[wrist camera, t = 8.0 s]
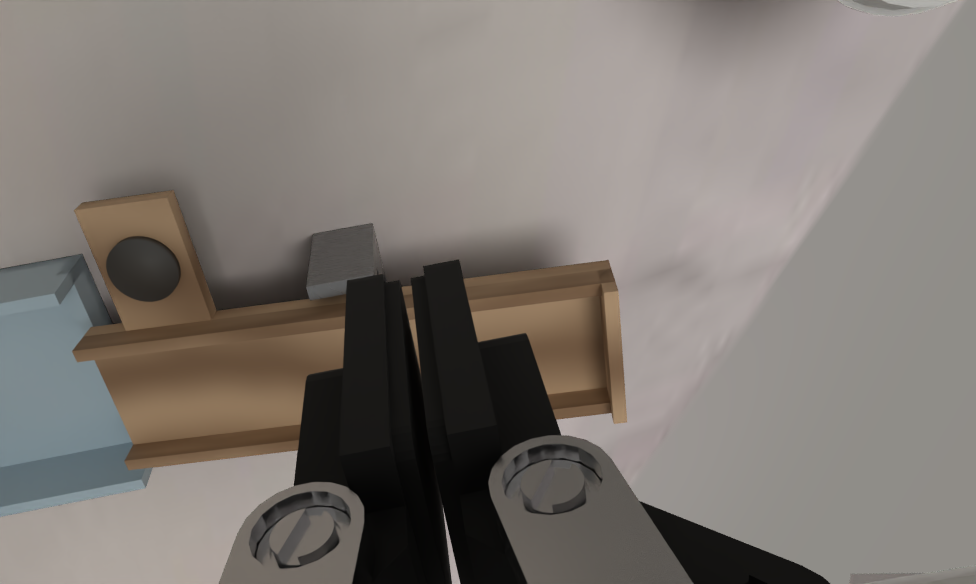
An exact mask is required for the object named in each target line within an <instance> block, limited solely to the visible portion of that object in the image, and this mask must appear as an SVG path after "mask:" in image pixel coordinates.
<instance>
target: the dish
mask: <svg viewBox="0 0 976 584" xmlns="http://www.w3.org/2000/svg"><path fill="white" fill-rule="evenodd" d="M111 324H112V321H111V319H110V317H109V314H108V312H107V310H106V308H105V305H104V303H103V301H102V298H101V296H100V294H99V292H98V289H97V287H96V285H95V282H94V280H93V278H92V276H91V273H90V271H89V269H88V266H87V264H86V262H85V260H84V257H83V255H82V254H80V255H75V256H69V257H64V258H58V259H53V260H47V261H42V262H36V263H31V264H25V265H20V266H14V267H9V268H3V269H0V517H1V516H7V515H12V514H17V513H22V512H27V511H32V510H37V509H42V508H47V507H52V506H57V505H62V504H68V503H73V502H78V501H83V500H88V499H93V498H98V497H103V496H108V495H113V494H118V493H124V492H129V491H134V490H139V489H144V488H146V486H147V483H148V480H149V477H150V474H151V471H152V468H144V469H136V470H128V468H127V466H126V464H125V462H124V460H125V459H126V457H127V455H128V453H129V451H130V450H131V448H132V446H133V443H132V441H131V438H130V436H129V434H128V432H127V430H126V428H125V425H124V423H123V421H122V419H121V417H120V415H119V412H118V410H117V408H116V406H115V404H114V402H113V400H112V397H111V395H110V393H109V391H108V389H107V387H106V384H105V382H104V380H103V378H102V376H101V374H100V371H99V369H98V367H97V365H96V363H95V361H94V360H92V361H84V362H77V361H76V359H75V357H74V355H73V353H72V350H73V349H74V348H75V347H76V345H77V344H78V343H79V341H80V340H81V339H82V338H83V336H84V335H85V334H86V332H87V331H88V330H89V329H90V327H95V326H103V325H111Z"/></svg>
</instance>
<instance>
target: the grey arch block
mask: <svg viewBox="0 0 976 584" xmlns="http://www.w3.org/2000/svg"><path fill="white" fill-rule="evenodd" d="M379 274H384V270H383V265H382V261H381V257H380V252H379V248H378V244H377V239H376V235H375V231H374V226H373V223H372V224H366V225H361V226H355V227H350V228H344V229H339V230H333V231H328V232H322V233H317V234H313V240H312V247H311V254H310V262H309V269H308V276H307V284H306V289H307V292H308V296H309V299H310V301H311V300H316V299H322V298H327V297H332V296H338V295H343V294H346V286H347V280H352V279H357V278H363V277H368V276H373V275H379ZM384 276H385V274H384ZM385 279H386V278H385Z"/></svg>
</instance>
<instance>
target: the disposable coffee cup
mask: <svg viewBox="0 0 976 584" xmlns="http://www.w3.org/2000/svg"><path fill="white" fill-rule="evenodd" d="M837 1H839V2H840V3H842V4H843V5H845V6H846V7H849V8H851V9H855V10H858V11H861V12H864V13H867V14H871V15H880V16H894V17H898V16H905V15H912V14H919V13H923V12H926V11H929V10H932V9H935V8H938V7H941V6H945V5H947V4H949V3H952V2H955V1H957V0H837Z"/></svg>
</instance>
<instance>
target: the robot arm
mask: <svg viewBox="0 0 976 584" xmlns="http://www.w3.org/2000/svg"><path fill="white" fill-rule="evenodd" d="M423 268H424V276H420V277H415V278H411V286H412V295H413V304H414V314H415V323H416V332H417V342H418V351H419V360H420V368H419V364H418V359H417V355H416V350H415V346H414V341H413V337H412V332H411V328H410V323H409V319H408V314H407V310H406V305H405V300H404V296H403V291H402V287H401V283H400V280H399V281H393V282H388V283H387V282H386V279H385V276H384V274H379V275H373V276H368V277H363V278H357V279H352V280H347V286H346V309H345V332H344V355H343V368H340V369H335V370H329V371H324V372H319V373H314V374H309V375H308V376H307V378H306V383H305V391H304V400H303V409H302V418H301V427H300V436H299V445H298V453H297V462H296V471H295V480H294V486H293V487H291V488H288V489H286V490H284V491H281V492H279V493H276V494H275V495H273V496H272V497H270V498H269V499H267V500H266V501H264V502H263V503H261V504H260V505H259V506H258V507H257V508H256V509H255V510H254V511H253V512H252V513H251V514H250V515H249V516H248V517H247V518H246V519H245V521H244V523H243V525H242V526H241V528H240V530H239V532H238V533H237V536H236V539H235V541H234V544H233V547H232V549H231V552H230V555H229V557H228V560H227V563H226V565H225V568H224V571H223V573H222V576H221V579H220V581H219V584H452V581H451V572H450V564H449V555H448V547H447V539H446V530H445V522H444V513H445V517H446V522H447V526H448V530H449V535H450V539H451V544H452V548H453V553H454V557H455V561H456V566H457V570H458V575H459V579H460V583H461V584H830V583H829V582H828V581H827V580H826V579H824V578H823V577H822V576H820V575H818V574H816V573H814V572H813V571H811V570H809V569H807V568H805V567H803V566H801V565H799V564H796V563H794V562H791V561H789V560H786V559H783V558H781V557H778V556H776V555H774V554H771V553H769V552H766V551H764V550H761V549H759V548H756V547H753V546H751V545H749V544H746V543H744V542H741V541H738V540H736V539H733V538H731V537H728V536H726V535H723V534H721V533H718V532H716V531H713V530H711V529H708V528H706V527H703V526H701V525H698V524H696V523H693V522H691V521H688V520H686V519H683V518H681V517H678V516H676V515H673V514H671V513H668V512H666V511H663V510H661V509H658V508H655V507H653V506H650V505H648V504H645V503H643V502H640V501H639V500H638V499H637V497H636V496H635V494H634V493H633V491H632V490H631V488H630V487H629V485H628V484H627V482H626V480H625V479H624V477H623V476H622V474H621V473H620V471H619V470H618V468H617V467H616V465H615V464H614V462H613V461H612V459H611V458H610V457H609V456H608V455H607V454H606V453H605V452H604V451H603V450H602V449H601V448H600V447H598V446H596V445H595V444H593V443H591V442H589V441H587V440H584V439H580V438H576V437H572V436H562V435H561V433H560V430H559V427H558V424H557V421H556V418H555V415H554V412H553V409H552V406H551V404H550V401H549V398H548V395H547V392H546V389H545V386H544V383H543V380H542V377H541V374H540V371H539V368H538V365H537V362H536V359H535V356H534V353H533V350H532V347H531V344H530V341H529V338H528V336H527V334H526V333H522V334H517V335H512V336H507V337H502V338H496V339H491V340H486V341H481V342H478V340H477V336H476V332H475V327H474V323H473V319H472V314H471V310H470V306H469V301H468V297H467V293H466V288H465V284H464V280H463V275H462V271H461V267H460V262H459V260H454V261H449V262H443V263H438V264H433V265H427V266H423ZM420 370H421V373H420ZM442 504H443V505H442ZM443 508H444V513H443ZM849 584H976V565H973V566H967V567H961V568H955V569H949V570H943V571H937V572H931V573H881V574H850V582H849Z"/></svg>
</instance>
